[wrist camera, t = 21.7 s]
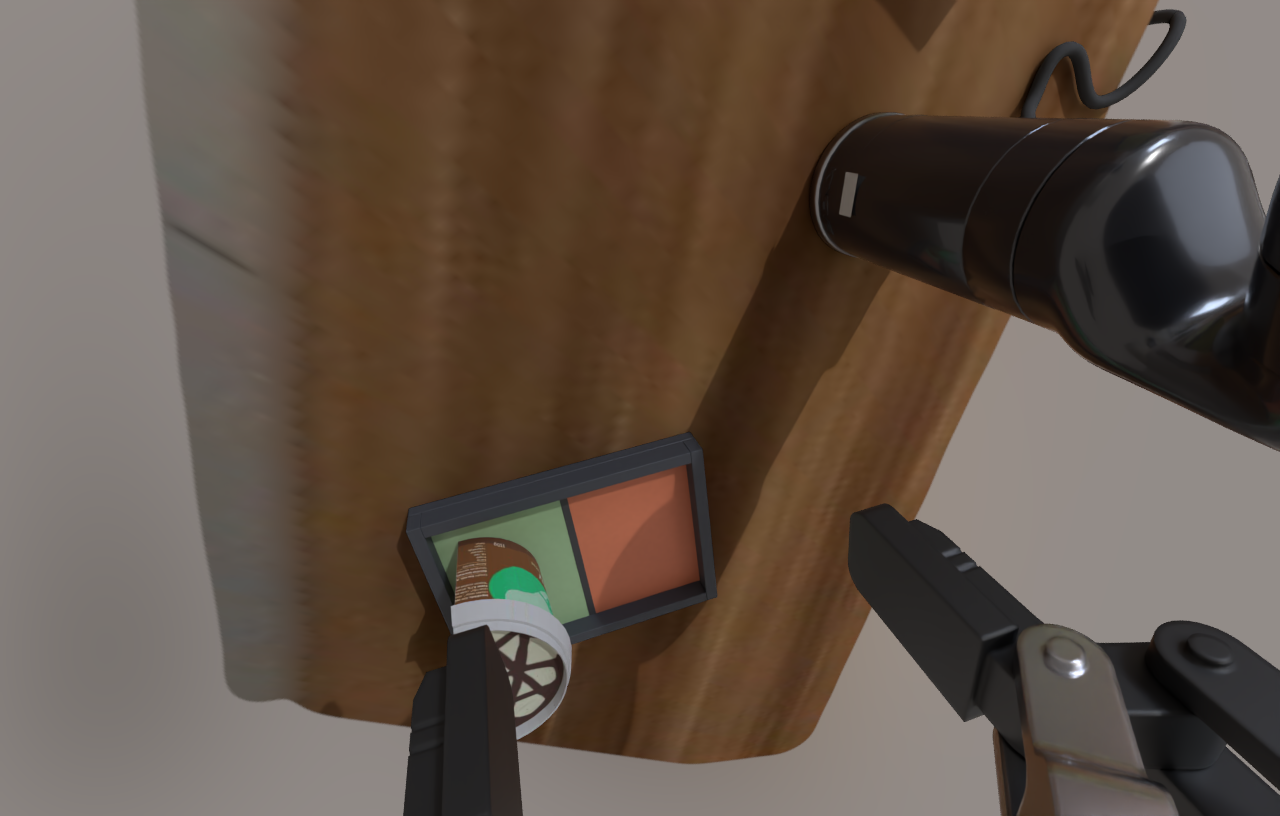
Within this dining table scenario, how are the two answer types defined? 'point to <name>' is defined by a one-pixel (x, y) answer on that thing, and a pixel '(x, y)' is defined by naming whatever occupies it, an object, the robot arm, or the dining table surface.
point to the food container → (514, 623)
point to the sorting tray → (589, 535)
